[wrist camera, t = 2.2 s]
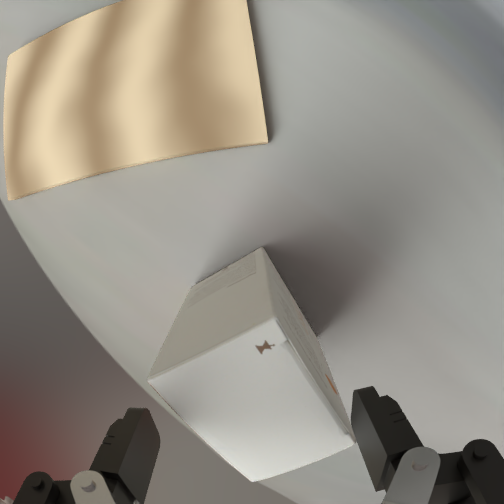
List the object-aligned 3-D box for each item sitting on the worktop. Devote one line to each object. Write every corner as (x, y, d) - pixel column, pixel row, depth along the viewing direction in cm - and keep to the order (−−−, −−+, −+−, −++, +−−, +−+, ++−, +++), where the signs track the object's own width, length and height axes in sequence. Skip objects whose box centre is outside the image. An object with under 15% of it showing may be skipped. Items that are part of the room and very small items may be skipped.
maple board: (242, -18, 15) (241, -26, 14) (267, 143, 18) (268, 141, 17) (14, 58, 16) (8, 55, 15) (15, 199, 19) (8, 200, 18)
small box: (190, 285, 20) (139, 377, 10) (263, 243, 20) (274, 311, 9) (251, 372, 22) (250, 486, 12) (319, 338, 21) (359, 446, 11)
